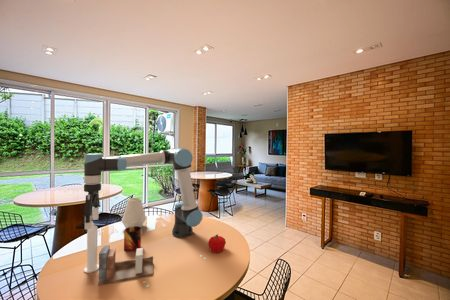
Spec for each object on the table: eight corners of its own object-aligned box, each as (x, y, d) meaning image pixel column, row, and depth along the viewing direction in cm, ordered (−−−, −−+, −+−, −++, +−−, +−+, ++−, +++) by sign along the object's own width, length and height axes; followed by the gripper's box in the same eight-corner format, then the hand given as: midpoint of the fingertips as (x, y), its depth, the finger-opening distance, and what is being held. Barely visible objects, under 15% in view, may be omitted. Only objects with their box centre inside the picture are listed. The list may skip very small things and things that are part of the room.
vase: (130, 223, 169) (130, 195, 169) (149, 224, 166) (150, 196, 166) (116, 231, 152) (117, 201, 151) (138, 233, 149) (138, 202, 149)
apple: (215, 244, 133) (215, 229, 133) (228, 249, 127) (228, 233, 127) (205, 251, 125) (205, 235, 125) (218, 256, 119) (218, 239, 119)
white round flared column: (82, 274, 100) (82, 224, 100) (85, 266, 106) (86, 220, 106) (98, 271, 103) (99, 222, 103) (101, 263, 109) (101, 218, 109)
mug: (139, 253, 120) (139, 234, 120) (120, 250, 124) (120, 231, 124) (149, 246, 130) (149, 227, 130) (131, 243, 133) (131, 225, 133)
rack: (152, 263, 111) (153, 238, 111) (153, 275, 100) (153, 247, 100) (103, 271, 102) (103, 244, 102) (97, 285, 92) (98, 255, 92)
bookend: (142, 264, 107) (142, 247, 107) (141, 272, 100) (142, 254, 100) (136, 265, 106) (136, 248, 106) (135, 274, 99) (135, 255, 99)
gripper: (91, 179, 115) (90, 216, 115) (75, 188, 91) (74, 234, 91) (106, 179, 117) (105, 215, 117) (94, 187, 94) (93, 232, 94)
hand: (91, 223), depth 104 cm, fingers open, 13 cm apart
